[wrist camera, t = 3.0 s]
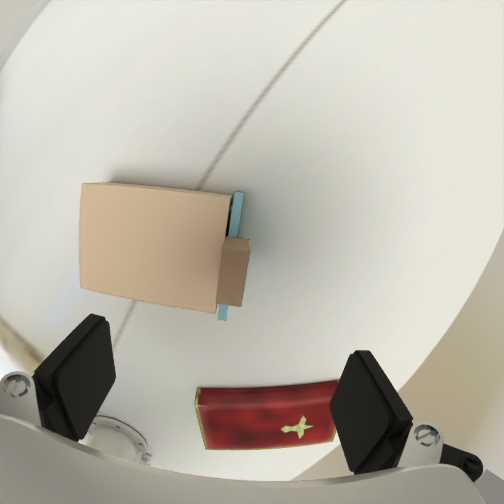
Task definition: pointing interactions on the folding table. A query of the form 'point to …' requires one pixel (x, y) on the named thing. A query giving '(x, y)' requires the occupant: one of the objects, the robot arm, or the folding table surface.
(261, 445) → the hardcover book
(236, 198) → the tray
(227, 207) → the cardboard box
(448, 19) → the folding table surface
